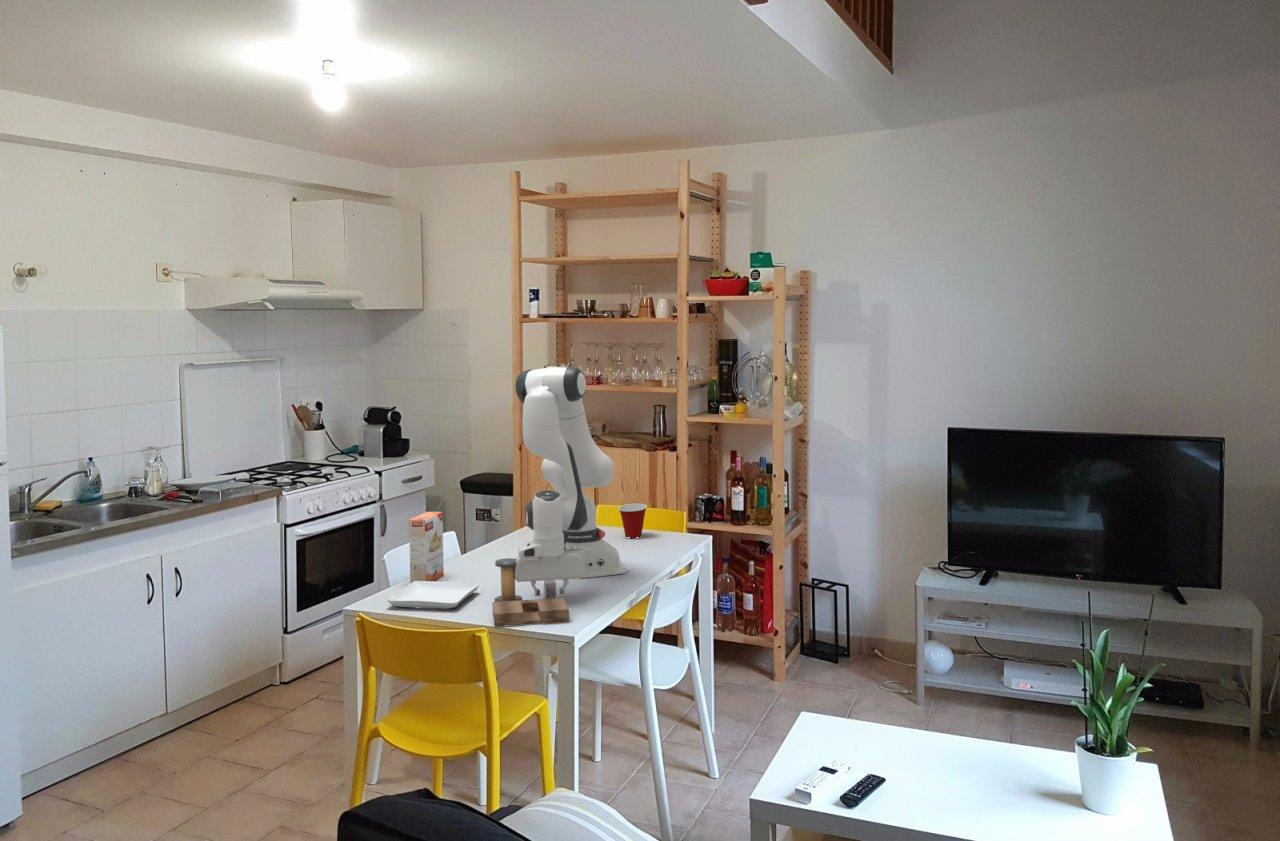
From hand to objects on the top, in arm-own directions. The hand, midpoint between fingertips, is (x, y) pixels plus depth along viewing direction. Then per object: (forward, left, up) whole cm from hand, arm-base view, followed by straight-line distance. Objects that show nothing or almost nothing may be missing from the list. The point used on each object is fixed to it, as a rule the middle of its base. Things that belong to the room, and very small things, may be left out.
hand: (549, 594), depth 300 cm
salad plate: (+33, -9, -3) cm, 34 cm away
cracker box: (+35, -34, -2) cm, 49 cm away
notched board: (+7, +15, -2) cm, 17 cm away
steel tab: (0, 0, -2) cm, 2 cm away
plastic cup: (-39, -81, -2) cm, 90 cm away
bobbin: (+12, -1, -2) cm, 12 cm away
